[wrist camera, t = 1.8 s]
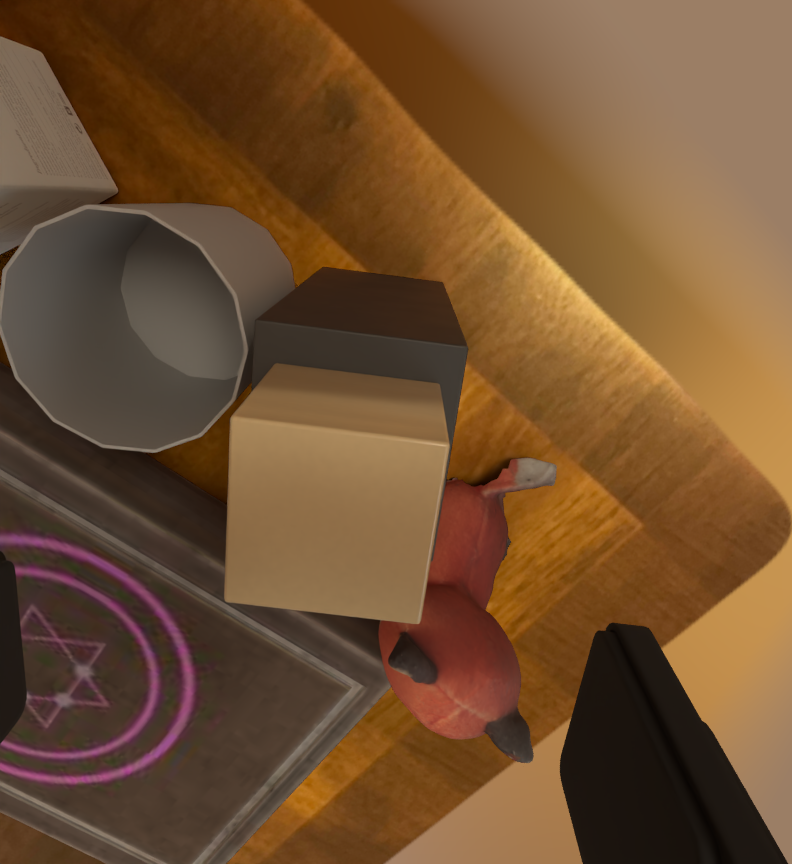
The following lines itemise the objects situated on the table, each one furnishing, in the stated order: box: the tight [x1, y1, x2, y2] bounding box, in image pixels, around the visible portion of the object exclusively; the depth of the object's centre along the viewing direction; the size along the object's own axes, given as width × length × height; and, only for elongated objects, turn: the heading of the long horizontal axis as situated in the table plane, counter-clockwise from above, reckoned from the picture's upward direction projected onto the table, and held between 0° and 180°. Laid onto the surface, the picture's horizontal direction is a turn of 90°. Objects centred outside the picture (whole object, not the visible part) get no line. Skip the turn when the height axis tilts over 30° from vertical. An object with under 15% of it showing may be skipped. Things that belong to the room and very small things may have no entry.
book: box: [0, 362, 391, 864], centre depth 35 cm, size 30×22×5 cm
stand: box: [252, 267, 468, 562], centre depth 25 cm, size 7×6×14 cm
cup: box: [0, 203, 295, 453], centre depth 26 cm, size 8×8×10 cm
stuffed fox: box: [378, 458, 557, 763], centre depth 29 cm, size 8×11×12 cm
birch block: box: [224, 363, 450, 624], centre depth 16 cm, size 5×5×5 cm
